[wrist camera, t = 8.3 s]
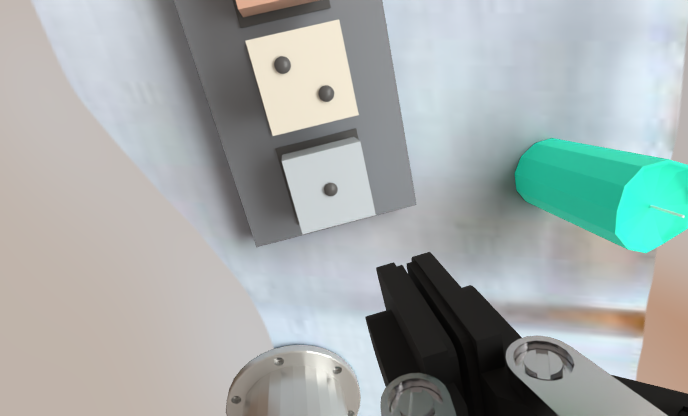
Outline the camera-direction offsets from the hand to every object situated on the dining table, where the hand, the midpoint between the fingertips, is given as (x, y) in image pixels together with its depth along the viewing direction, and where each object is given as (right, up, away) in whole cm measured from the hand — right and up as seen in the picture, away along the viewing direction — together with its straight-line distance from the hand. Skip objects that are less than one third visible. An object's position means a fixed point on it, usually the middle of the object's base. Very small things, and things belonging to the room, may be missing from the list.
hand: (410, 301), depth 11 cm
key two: (-5, +11, +12) cm, 17 cm away
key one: (-3, +5, +16) cm, 17 cm away
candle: (+16, +6, +22) cm, 27 cm away
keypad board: (-5, +12, +16) cm, 21 cm away
